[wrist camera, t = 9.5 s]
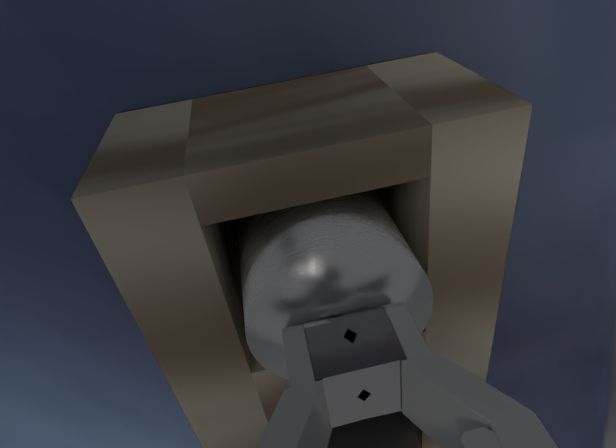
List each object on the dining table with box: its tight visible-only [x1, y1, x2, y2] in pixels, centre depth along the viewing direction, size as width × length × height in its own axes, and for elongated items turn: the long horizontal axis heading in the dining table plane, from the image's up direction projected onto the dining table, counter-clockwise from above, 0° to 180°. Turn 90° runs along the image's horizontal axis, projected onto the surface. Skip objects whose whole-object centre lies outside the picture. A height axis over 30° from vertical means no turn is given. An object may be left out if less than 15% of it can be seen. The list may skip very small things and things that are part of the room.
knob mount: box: [71, 52, 533, 448], centre depth 18 cm, size 24×10×5 cm, turn 8°
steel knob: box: [236, 189, 433, 380], centre depth 13 cm, size 5×5×5 cm
